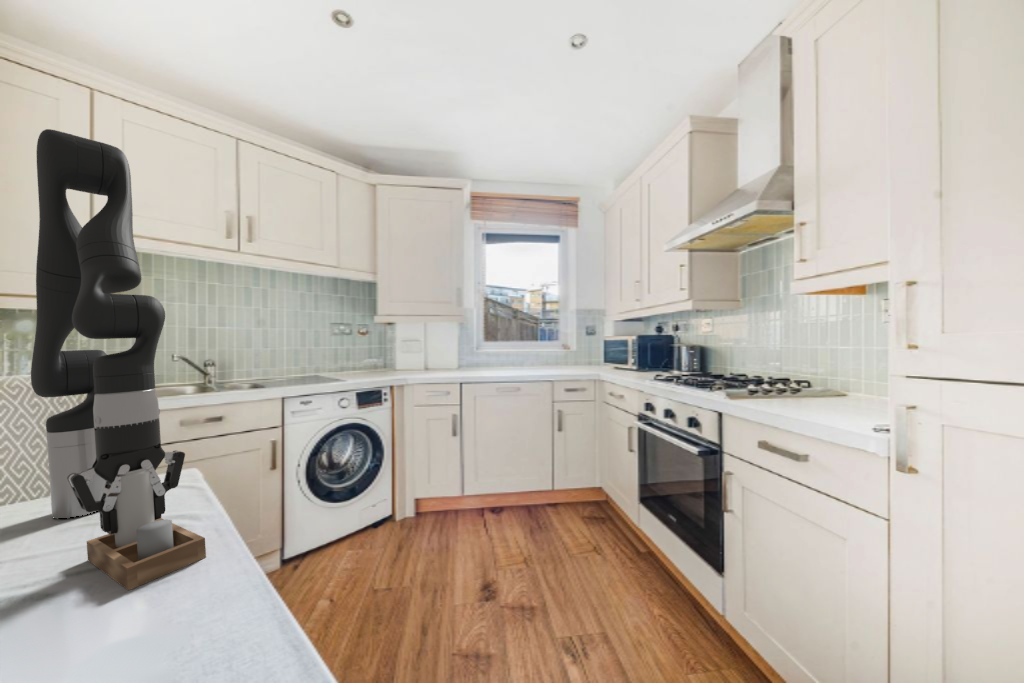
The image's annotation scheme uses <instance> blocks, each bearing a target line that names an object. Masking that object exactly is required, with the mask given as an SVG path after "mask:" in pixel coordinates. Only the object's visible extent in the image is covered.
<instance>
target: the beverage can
mask: <svg viewBox="0 0 1024 683" xmlns="http://www.w3.org/2000/svg"><path fill="white" fill-rule="evenodd" d="M125 474H127V475H125V476H122V477H121V480H119V481H121V492H120V494H119V495H118V496H117V499H116V502H115V505H114V507H113V509H116V518H117V533H115V545H116V547H117V548H120V547H122V546H125V545H128V544H131V543H134V542H136V541H137V534H136V530H137V529H138V528H139V527H141V526H143V525H145V524H148V523H151V522H154V521H155V514H154V498H153V488H152V485H151V482H150V474H151V472H150V471H149V470H146V468H143V469H142V468H141V469H137V470H133V471H129V472H125ZM111 485H112V484H111ZM116 487H117V486H116Z"/></svg>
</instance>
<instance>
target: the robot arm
mask: <svg viewBox="0 0 1024 683" xmlns="http://www.w3.org/2000/svg"><path fill="white" fill-rule="evenodd" d="M36 173H37V191H38V193H37V194H38V209H39V210H38V213H39V215H38V216H39V223H38V224H39V225H38V228H39V229H38V240H37V241H38V242H37V255H36V265H35V266H36V270H35V272H36V273H35V291H36V294H35V296H36V297H35V298H36V325H35V334H34V344H33V349H32V358H31V366H30V381H31V382H30V384H31V388H32V391H33V392H34V393H35V394H36V395H37V396H38V397H40V398H57V397H58V398H59V397H69V396H78V395H86V394H87V395H86V398H85V399H84V400H83V401H82V402H81V403H79V404H78V405H76V406H74V407H72V408H70V409H67V410H65V411H61V412H59V413H57V414H53V415H51V416H50V417H48V418H47V419H46V422H45V430H46V444H47V456H48V471H49V472H48V473H49V486H50V504H51V515H52V516H51V518H52V517H54V518H67V519H71V518H70V517H74V518H77V517H76V516H79V517H82V515H83V516H87V514H88V515H91V514H94V513H93V512H95V513H97V512H96V511H98V512H99V521H100V522H99V523H100V529H101V531H102V532H104V533H107V534H110V535H112V534H115V533H117V518H116V509H113V507H114V505H115V502H116V499H117V496H118V495H119V494H120V492H121V481H119V480H121V477H122V476H125V475H127V474H125V472H129V471H133V470H137V469H141V468H142V469H143V468H146V470H149V471H150V472H151V474H150V482H151V485H152V488H153V498H154V514H155V520H157V519H160V518H162V515H163V514H165V512H166V499H165V497H166V496H165V495H166V493H167V492H168V491H170V490H172V489H176V488H177V487H178V486H179V483H180V478H181V474H182V470H183V465H184V462H185V456H186V453H185V452H184V451H181V450H173V451H165V450H164V449H163V448H162V442H161V441H162V440H161V439H162V438H161V426H160V425H161V424H160V414H161V413H160V412H161V411H160V407H159V400H158V396H157V391H156V379H155V378H156V376H155V374H156V373H155V358H156V353H157V348H158V344H159V341H160V337H161V335H162V334H161V333H162V331H163V328H164V325H165V321H166V311H165V308H164V306H163V304H162V303H161V301H160V300H158V298H155V297H154V296H151V295H146V294H122V293H124V292H127V291H131V290H134V289H136V288H137V287H139V285H140V284H141V282H142V271H141V269H140V268H141V267H140V264H139V259H138V255H137V254H138V253H137V252H136V247H135V242H134V228H133V225H134V224H133V197H132V179H131V178H132V177H131V176H132V174H131V169H130V163H129V160H128V159H127V156H126V154H125V153H124V152H123V150H122V149H120V148H118V147H116V146H115V145H114V146H113V145H111V144H108V143H105V142H101V141H97V140H93V139H90V138H86V137H83V136H79V135H74V134H71V133H67V132H64V131H60V130H55V129H44V130H42V131H41V132H40V134H39V136H38V138H37V142H36ZM67 190H71V191H77V192H81V193H88V194H94V195H98V196H106V197H107V200H106V203H105V205H104V206H103V207H102V208H101V210H100V211H99V212H97V213H96V214H95V215H94V216H93V217H92V218H91V219H90V220H88V221H87V222H86V223H85V224H84V225H83V227H82V225H81V224H80V222H79V220H78V219H77V218H76V216H75V214H74V213H73V211H72V209H71V207H70V205H69V201H68V199H67ZM74 330H76V331H77V332H78V333H79V334H80V335H82V336H83V337H84V338H87V339H92V340H93V339H94V340H110V339H135V341H134V343H133V345H132V346H131V347H130V348H129V349H127V350H124V351H120V352H115V353H110V354H107V352H105V351H103V350H101V349H82V350H81V349H78V350H77V349H75V350H62V348H63V346H64V343H65V341H66V340H67V339H68V337H69V335H70V334H71V333H72V332H73V331H74ZM163 460H165V461H164V463H165V464H167V468H166V471H165V476H164V478H163V479H164V480H163V482H161V481H162V480H161V478H160V477H159V475H158V473H157V472H156V470H157V469H158V467H159V466H160V465H161V463H162V462H163ZM111 484H112V485H111ZM116 486H117V487H116ZM90 513H91V514H90Z"/></svg>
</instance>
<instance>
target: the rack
mask: <svg viewBox="0 0 1024 683" xmlns="http://www.w3.org/2000/svg"><path fill="white" fill-rule="evenodd" d="M159 520H165V519H164V518H162V517H161V518H160V519H157V520H155V521H159ZM172 530H173V545H174V547H173V548H171V549H168V550H166V551H163V552H160V553H158V554H155V555H153V556H150V557H147V558H145V559H142V560H140V561H138V550H137V541H136V542H134V543H131V544H128V545H125V546H122V547H120V548H117V547H116V545H115V534H112V535H110V534H108V533H107V534H104V535H101V536H98V537H96V538H91V539H89V540H87V541H86V554H87V555H86V556H87V561H88V562H90V563H91V564H92V565H93V566H95V567H96V568H98V569H99V570H100V571H101V572H102V573H104V574H106V575H107V576H109V577H110V578H111V579H113V580H114V581H115V582H116V583H118V584H119V585H120V586H122V587H123V588H124V589H126V590H127V591H130V590H133V589H135V588H138V587H140V586H142V585H145V584H147V583H149V582H151V581H153V580H156V579H158V578H160V577H164V576H166V575H167V574H170V573H172V572H175V571H177V570H179V569H182V568H184V567H187V566H188V565H190V564H193V563H196V562H199V561H200V560H203V559H205V558H207V552H206V550H207V548H206V538H205V537H204V536H201V535H199V534H198V533H195V532H193V531H190V530H188V529H186V528H184V527H181V526H180V525H177V524H175V523H173V522H172Z"/></svg>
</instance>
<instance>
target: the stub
mask: <svg viewBox="0 0 1024 683" xmlns="http://www.w3.org/2000/svg"><path fill="white" fill-rule="evenodd" d="M172 523H173V521H172V519H169V518H168V519H164V520H159V521H154V522H151V523H148V524H145V525H143V526H141V527H139V528H138V529H137V530H136V534H137V550H138V561H140V560H142V559H145V558H147V557H150V556H153V555H155V554H158V553H160V552H163V551H166V550H168V549H171V548H173V547H174V545H173V530H172Z"/></svg>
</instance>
